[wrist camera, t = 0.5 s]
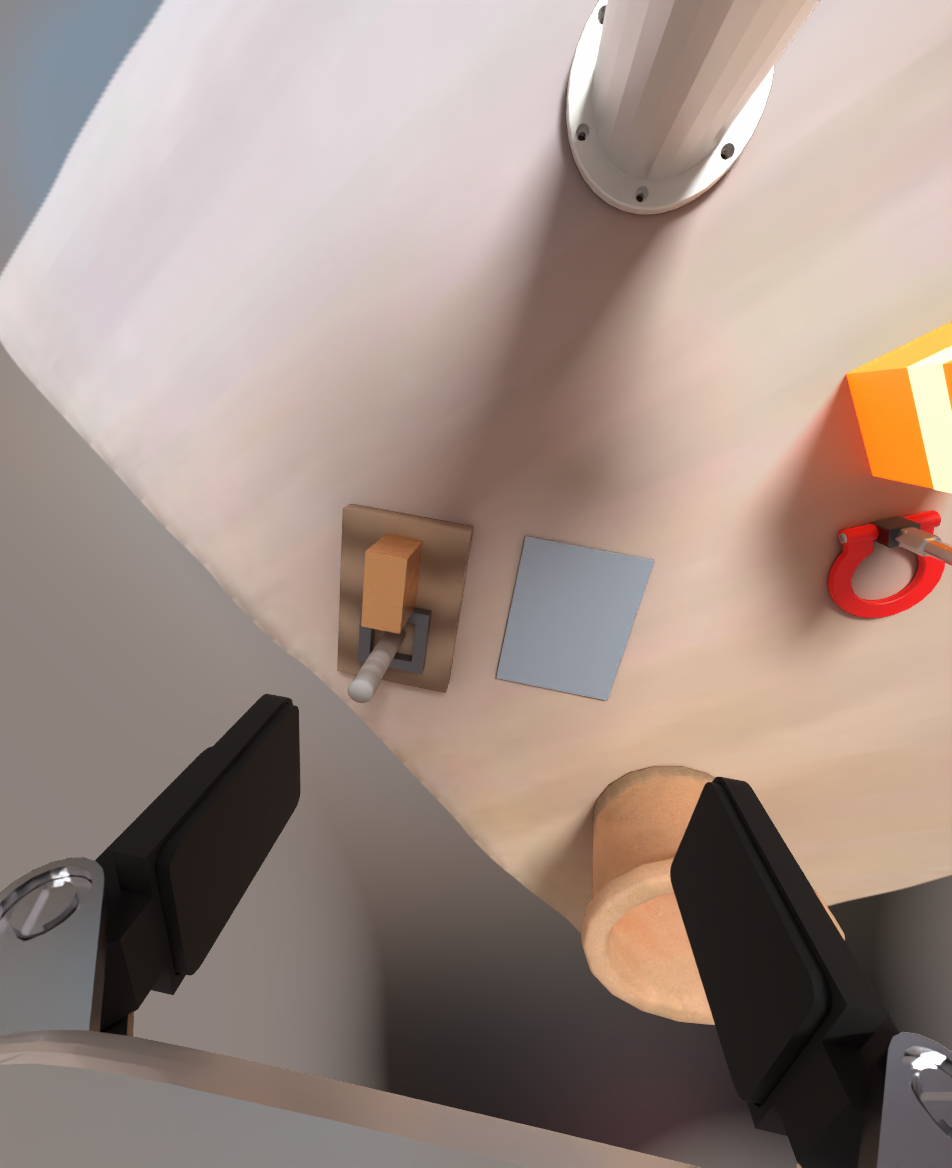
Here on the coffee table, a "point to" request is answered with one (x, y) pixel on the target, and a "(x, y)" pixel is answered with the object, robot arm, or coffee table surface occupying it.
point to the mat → (571, 616)
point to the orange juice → (908, 411)
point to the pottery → (645, 894)
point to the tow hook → (891, 533)
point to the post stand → (435, 592)
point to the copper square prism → (393, 599)
